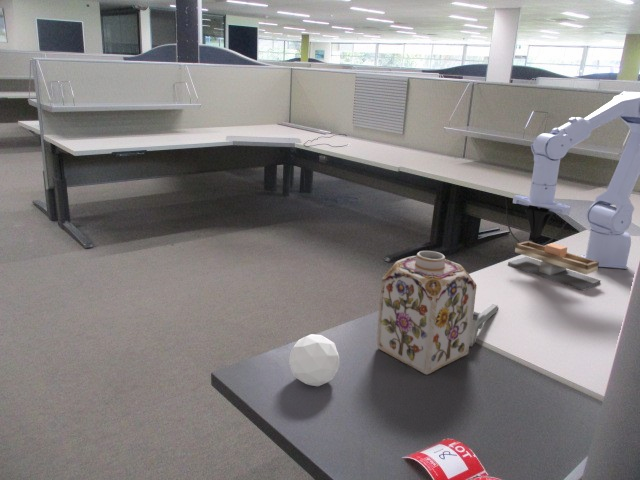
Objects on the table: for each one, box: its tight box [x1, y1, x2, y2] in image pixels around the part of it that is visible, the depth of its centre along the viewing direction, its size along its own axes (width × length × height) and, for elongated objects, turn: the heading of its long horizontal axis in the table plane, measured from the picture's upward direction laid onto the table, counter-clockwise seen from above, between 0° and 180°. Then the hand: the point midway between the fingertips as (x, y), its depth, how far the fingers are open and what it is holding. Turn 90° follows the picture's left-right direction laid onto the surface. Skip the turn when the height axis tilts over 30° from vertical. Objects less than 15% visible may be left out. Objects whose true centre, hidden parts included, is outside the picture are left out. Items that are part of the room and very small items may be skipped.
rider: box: [544, 242, 568, 257], centre depth 131 cm, size 4×3×2 cm
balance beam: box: [507, 240, 602, 291], centre depth 132 cm, size 20×8×6 cm, turn 36°
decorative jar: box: [376, 250, 477, 376], centre depth 90 cm, size 12×12×18 cm
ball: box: [288, 333, 340, 387], centre depth 82 cm, size 8×8×8 cm
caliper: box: [469, 303, 499, 347], centre depth 103 cm, size 20×1×6 cm, turn 150°
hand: (535, 236), depth 135 cm, fingers closed
